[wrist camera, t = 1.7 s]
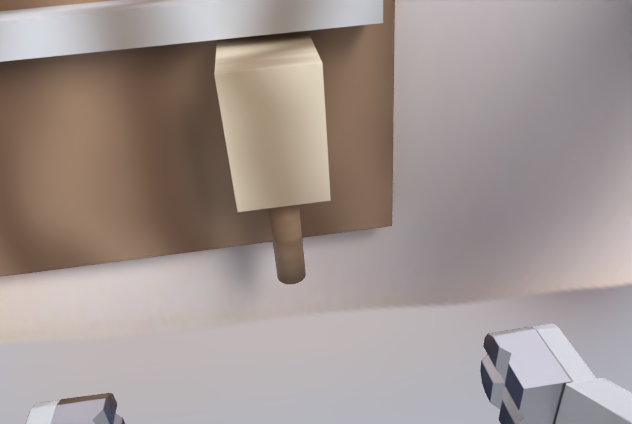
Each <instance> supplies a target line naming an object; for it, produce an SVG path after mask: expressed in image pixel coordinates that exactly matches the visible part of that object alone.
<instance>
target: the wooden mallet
mask: <svg viewBox="0 0 632 424" xmlns="http://www.w3.org/2000/svg"><path fill="white" fill-rule="evenodd" d="M214 76H215V82H216V88H217V93H218V99H219V105H220V111H221V117H222V123H223V129H224V135H225V141H226V147H227V152H228V158H229V164H230V170H231V176H232V182H233V188H234V194H235V200H236V205H237V211H238V212H243V211H251V210H259V209H267V208H269V216H270V223H271V231H272V238H273V246H274V253H275V261H276V268H277V276H278V279H279V281H281V282H282V283H285V284H295V283H298V282H300V281H302V280H303V279H304V278H305V275H306V274H305V263H304V253H303V243H302V232H301V222H300V212H299V204H307V203H315V202H323V201H331V198H330V181H329V164H328V147H327V130H326V113H325V96H324V79H323V63H322V61H321V59H320V57H319V54H318V52H317V50H316V48H315V46H314V44H313V41H312V39H311V37H310V35H309V33H308V31H299V32H289V33H279V34H269V35H259V36H250V37H240V38H230V39H220V40H217V46H216V59H215V72H214Z"/></svg>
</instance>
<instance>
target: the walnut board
mask: <svg viewBox="0 0 632 424" xmlns="http://www.w3.org/2000/svg"><path fill="white" fill-rule="evenodd" d="M394 16H395V0H0V277H1V276H9V275H17V274H25V273H32V272H40V271H48V270H56V269H63V268H71V267H79V266H86V265H94V264H102V263H110V262H117V261H125V260H133V259H140V258H148V257H156V256H164V255H171V254H179V253H187V252H195V251H202V250H210V249H218V248H225V247H233V246H241V245H249V244H256V243H264V242H272V241H273V238H272V231H271V223H270V216H269V208H267V209H259V210H251V211H243V212H238V211H237V205H236V200H235V194H234V188H233V182H232V176H231V170H230V164H229V158H228V152H227V147H226V141H225V135H224V129H223V123H222V117H221V111H220V105H219V99H218V93H217V88H216V82H215V76H214V72H215V59H216V46H217V40H220V39H230V38H240V37H250V36H259V35H269V34H279V33H289V32H299V31H308V33H309V35H310V37H311V39H312V41H313V44H314V46H315V48H316V50H317V52H318V54H319V57H320V59H321V61H322V63H323V79H324V96H325V113H326V130H327V147H328V164H329V181H330V198H331V201H323V202H315V203H307V204H299V212H300V222H301V232H302V238H303V237H310V236H318V235H326V234H334V233H341V232H349V231H357V230H364V229H372V228H380V227H388V226H392V177H393V97H394Z"/></svg>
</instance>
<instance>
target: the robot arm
mask: <svg viewBox="0 0 632 424" xmlns="http://www.w3.org/2000/svg"><path fill="white" fill-rule="evenodd" d="M484 348H485V350H486V352H487V355H486V356H485V357H484V358H483V359H482V361H481V378H482V384H483V387H484V390H485V393H486V395H487V397H488V399H489V401H490V403H492V404H493V405H495V406H496V407H498V408H499V409H500V415H499V421H500V423H501V424H632V393H630V392H629V391H627V390H625V389H623V388H621V387H619V386H618V385H616V384H614V383H612V382H610V381H608V380H607V379H605V378H596V377H595V376H594V375H593V373H592V372H591V370H590V369H589V368H588V366H587V365H586V364H585V363H584V361H583V360H582V358H581V357H580V356H579V354H578V353H577V352H576V350H575V349H574V348H573V346H572V345H571V344H570V342H569V341H568V340H567V338H566V337H565V336H564V334H563V333H562V332H561V330H560V329H559V328H558V326H556V325H555V324H553V323H551V324H544V325H538V326H532V327H524V328H518V329H513V330H506V331H500V332H495V333H489V334H487V336H486V337H485V340H484ZM116 407H117V402H116V400H115V398H114V396H113V394H112V393H106V394H99V395H92V396H83V397H76V398H68V399H61V400H55V401H48V402H41V403H36V404H35V405H34V406H33V408H32V409H31V410H30V412H29V415H28V418H27V421H26V424H125V423H124V420H123V418H122V417H120V416H119V415H117V414H115V412H116Z"/></svg>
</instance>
